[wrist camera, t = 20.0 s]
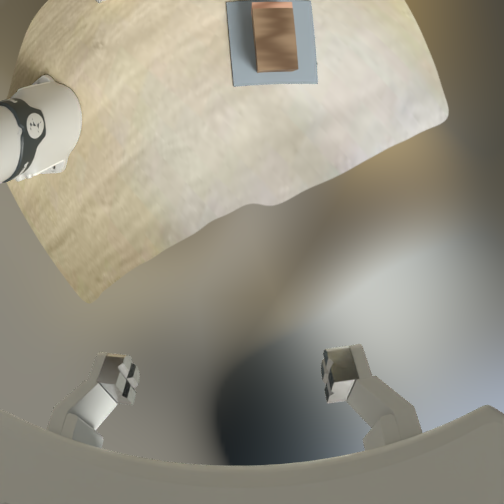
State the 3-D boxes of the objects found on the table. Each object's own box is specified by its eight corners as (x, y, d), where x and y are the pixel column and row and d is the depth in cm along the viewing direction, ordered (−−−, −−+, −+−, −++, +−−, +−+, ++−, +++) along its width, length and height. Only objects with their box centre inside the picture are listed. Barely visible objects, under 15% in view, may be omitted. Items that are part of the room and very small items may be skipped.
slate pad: (234, 86, 34) (233, 86, 34) (226, 3, 27) (226, 2, 26) (317, 83, 34) (317, 83, 34) (310, 1, 26) (310, 0, 26)
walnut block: (258, 70, 29) (251, 2, 23) (256, 72, 33) (251, 12, 27) (298, 69, 29) (292, 1, 23) (292, 71, 33) (286, 11, 27)
